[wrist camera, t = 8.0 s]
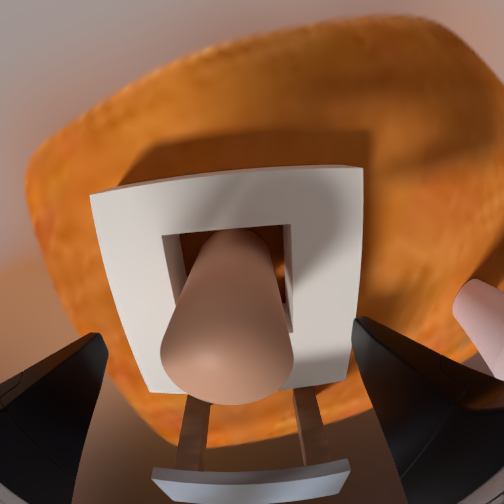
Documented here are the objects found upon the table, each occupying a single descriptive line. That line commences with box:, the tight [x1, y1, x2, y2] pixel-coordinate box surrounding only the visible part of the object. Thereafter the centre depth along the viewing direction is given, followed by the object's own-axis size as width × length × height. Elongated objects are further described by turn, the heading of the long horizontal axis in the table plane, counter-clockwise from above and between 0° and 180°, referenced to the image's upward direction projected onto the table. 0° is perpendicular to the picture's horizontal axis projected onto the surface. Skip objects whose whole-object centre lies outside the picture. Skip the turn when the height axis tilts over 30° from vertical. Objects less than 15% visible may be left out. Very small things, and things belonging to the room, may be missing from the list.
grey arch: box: [151, 387, 351, 504], centre depth 14 cm, size 10×4×9 cm, turn 94°
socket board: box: [90, 165, 363, 394], centre depth 14 cm, size 12×12×3 cm
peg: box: [160, 228, 294, 405], centre depth 11 cm, size 4×4×8 cm
